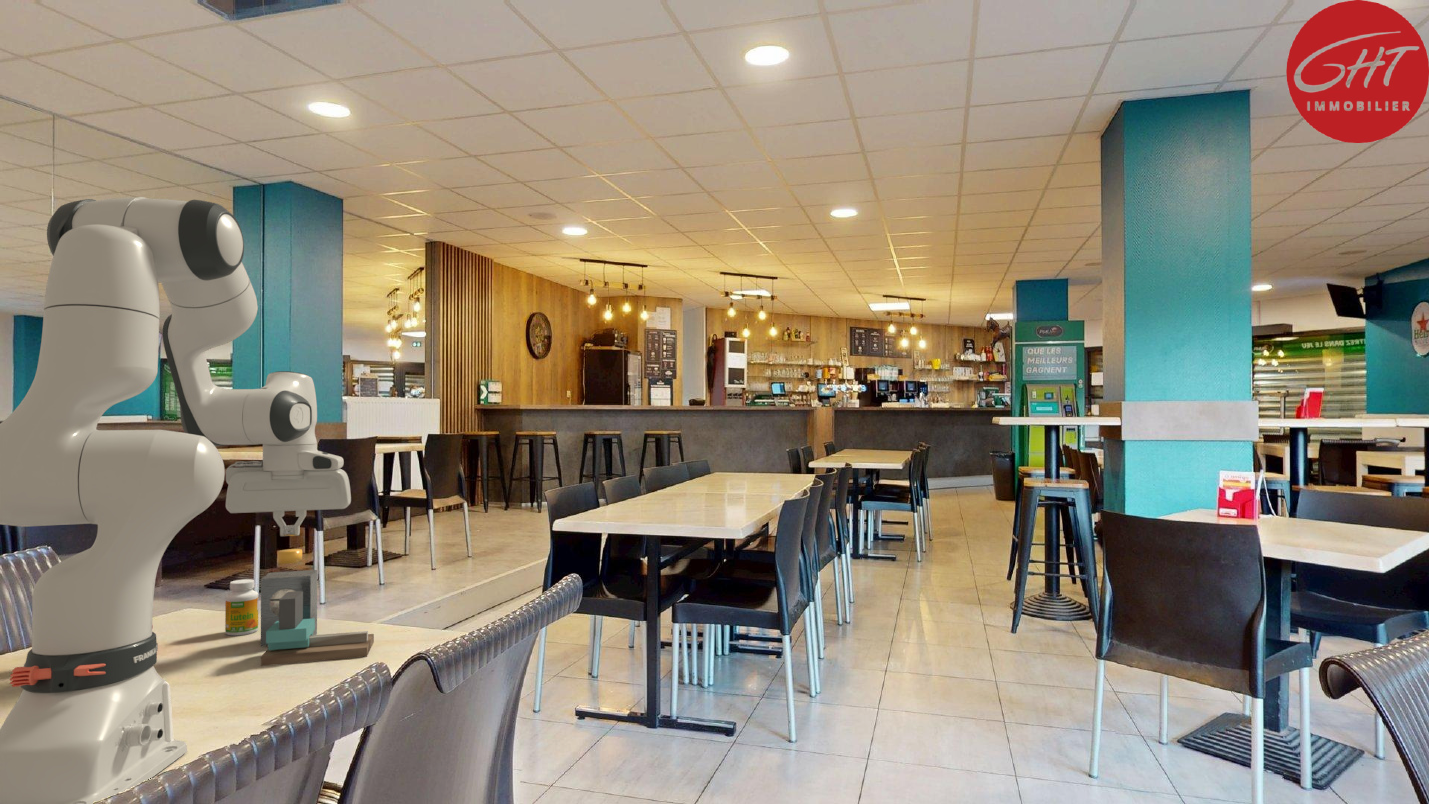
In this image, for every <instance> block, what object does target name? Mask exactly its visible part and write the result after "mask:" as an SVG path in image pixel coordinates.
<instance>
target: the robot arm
mask: <svg viewBox="0 0 1429 804" xmlns="http://www.w3.org/2000/svg"><path fill="white" fill-rule="evenodd" d="M46 227H47V228H46V240H47V245H48V248H49V250H50V253H51V255H52V260H51V264H50V267H49V271H48V276H47V280H46V281H47V282H46V288H45V293H44V304H43V315H42V316H43V320H42V331H41V332H42V333H41V339H40V341H41V343H40V349H39V354H38V355H39V356H38V361H37V368H36V371H35V376H34V379H33V381H32V382H31V385H30V387H29V389H28V391H27V393H26V394H25V396H24V398H23V399H22V400H21V402H20V403H19V405H17V407H16V408H15V409H14V410H13V411H12V413H10V414H9V416H7V417H6V418H5V420H3V421H2V422H0V525H3V526H13V527H25V528H26V527H41V526H42V527H43V526H44V527H47V526H62V525H63V526H65V525H84V524H85V525H87V524H89V525H90V524H91V525H97V533H96V538H95V540H94V542H93V544H92V546H91V547H90V548H87V549H86V550H83V551H81V552H79V553H76V554H74V555H72V556H70V557H68V558H66V559H63V560H62V561H59V562H58V563H56V564H54V565H53V566H51V567H49V569H47V570H46V571H44V572H43V574H41V575H40V577H39V578H38V579H37V581H36V583H35V585H34V587H33V591H32V617H31V619H32V621H31V622H32V623H31V626H32V627H31V628H32V629H31V636H32V637H31V649H29V651H28V652H27V653H26V658H25V662H24V664H23V666H16V667H15V668H14V667H13V668H14V669H12V671H11V674H10V678H9V681H10V685H11V687H12V688H15V687H16V688H18V687H20V688H21V689H22V691H21V693H20V695H19V697H18V699H17V701H16V702H15V704H14V705H13V707H12V708H11V709H10V712H9V713H8V714H7V716H6V718H5V720H4V722H3V723H2V725H1V727H0V804H93V802H94V801H99V800H101V799H102V798H107V797H108V796H111V795H114V794H117V793H119V792H123V791H125V790H126V789H130V788H131V787H133V786H136V785H137V784H138V783H141V782H143V781H144V780H148V779H149V778H151V779H152V778H154V776H156V775H157V774H159V773H160V772H162V771H164V769H165V768H167V767H168V766H170V765H171V764H172V763H174V762H175V761H176V760H178V759H179V758H181V757H182V756H184V755H185V754H186V753H187V752H188V747H187V746H188V744H187V742H186V741H183V740H179V739H174V726H173V712H172V711H173V709H172V697H171V696H172V694H171V687H170V686H171V685H170V683H169V682H167V680H166V679H164V678H163V677H162V676H161V675H160V674H159V673H158V672H157V671H158V670H156V668H155V665H156V664H157V662H158V660H157V655H158V651H159V647H158V646H159V645H158V642H157V634H156V633H155V632H154V631H153V629H152V625H153V614H154V613H153V609H154V598H155V597H154V596H155V595H154V594H155V585H156V579H157V572H158V568H159V566H160V563H161V560H162V558H163V556H164V553H165V552H166V550H167V548H168V547H169V545H170V543H171V542H172V540H173V539H174V538H175V536H176V535H177V534H178V533H180V531H181V530H182V529H183V528H184V527H185V526H186V525H187V524H188V523H189V522H191V521H192V520H193V519H194V518H196V517H197V516H198V515H200V514H202V513H203V512H204V511H206V510H207V509H208V508H209V507H210V506H211V505H213V503H214V502H215V500H216V499H217V498H218V497H219V495H220V493H221V490H222V488H223V485H224V482H225V481H226V484H227V485H228V486H227V491H226V497H225V509H226V510H227V511H228V512H229V513H230V514H242V513H244V514H245V513H247V514H248V513H270V512H272V517H273V520H274V521H275V523H276V524H277V526H278V527H279V536H280V537H294V536H300V533H301V530H300V529H301V527H300V526H301V525H302V523H303V521H304V520H305V518H306V517H307V511H321V510H324V511H325V510H326V511H327V510H344V509H347V508H348V507H349V506H350V505H351V502H352V495H351V485H350V479H349V476H348V473H347V472H346V471H345V470H344V469H341V468H343V467H344V463H345V462H344V458H343V457H342V456H339V455H335V454H332V453H328V452H326V451H321V450H318V440H317V437H316V432H315V431H316V430H315V429H316V425H317V423H318V422H317V421H318V404H317V403H318V402H317V394H316V387H315V383H314V380H313V378H312V376H310V375H308V374H305V373H302V372H295V371H289V370H286V371H285V370H284V371H282V370H281V371H273V372H270V373H268V374H267V376H266V380H265V384H264V386H262V387H260V388H253V389H252V388H247V389H246V388H244V389H243V388H236V389H235V388H234V389H233V388H231V389H230V388H224V387H220V386H219V385H218V386H217V385H216V384H215V383H214V382H213V380H212V376H211V373H210V369H209V368H210V367H209V364H208V360H207V356H206V351H209V350H211V349H214V348H217V347H220V346H223V345H226V344H228V343H231V342H232V341H234V340H236V339H237V338H239V337H240V336H241V337H242V335H243V334H244V333H245V332H247V331H248V330H249V329H250V327H252V325H253V323H254V321H256V317H257V313H258V310H259V308H258V300H257V295H256V292H255V290H254V287H253V284H252V282H251V279H250V277H249V274H248V273H247V270H246V268H245V265H244V264H243V262H242V261H243V258H244V254H245V242H244V234H243V231H242V228H241V226H240V224H239V221H238V219H236V217H235V216H234V215H233V214H232V213H231V212H230V211H229V210H227V208H225V207H224V206H223V205H222V204H219V203H216V202H212V201H205V200H200V199H191V200H189V201H188V200H187V201H186V200H178V199H171V198H169V199H167V198H147V197H144V196H140V197H139V196H137V197H135V196H134V197H133V196H132V197H118V198H117V197H116V198H106V199H105V198H104V199H99V200H96V199H93V198H92V199H91V198H86V199H80V200H75V201H71V202H67V203H64V204H62V205H61V206H59V207H58V208H57V209H56V210H55V212H54V213H53V215H52V216H51V217H50V219H49V221H48V224H47V226H46ZM159 283H161V286H162V288H163V291H164V293H165V294H166V295H165V296H166V297H167V299H168V301H169V304H170V306H171V314H169V315H168V316H167V317H166V319H165V321H164V322H163V324H162V325H163V326H162V342H163V347H164V352H165V355H166V360H167V363H168V367H169V371H170V374H171V377H172V378H171V379H172V381H173V384H174V385H173V386H174V388H175V392H176V396H177V399H178V402H179V403H178V404H179V413H180V414H179V415H180V424H181V426H182V430H183V432H181V431H180V432H179V431H174V430H168V429H167V430H166V429H124V430H123V429H116V430H115V429H112V430H111V429H109V430H107V429H105V430H104V429H103V430H101V429H100V430H99V429H97V427H98V424H99V421H100V419H101V417H102V416H103V415H104V413H105V412H106V411H108V409H110V408H111V407H112V406H114V405H116V404H119V403H121V402H124V401H127V400H129V399H132V398H133V397H136V396H138V395H140V394H141V393H143V392H144V391H146V390H147V389H148V388H150V386H152V384H153V383H154V381H155V380H156V378H157V375H158V373H159V372H158V369H159V368H158V366H159V347H160V343H159V342H160V324H161V323H160V317H161V314H160V312H161V311H160V309H161V308H160V307H161V304H160V288H159ZM230 445H231V446H233V445H234V446H238V445H239V446H242V445H244V446H247V445H250V446H251V445H262V460H251V461H242V460H241V461H235V462H234V463H232V464H230V465H229V466H228V467H227V468H226V470H225V463H224V460H223V458H222V455H221V453H220V451H219V450H218V448H217V447H225V446H230ZM285 512H295V517H296V518H297V517H298V518H297V520H296V521H295V523H294V524H290V525H289V524H288V525H287V524H286V522H285V521H284V519H283V517H284V516H285ZM149 780H150V779H149ZM149 780H148V781H149Z"/></svg>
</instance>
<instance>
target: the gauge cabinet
mask: <svg viewBox="0 0 1429 804" xmlns="http://www.w3.org/2000/svg"><path fill="white" fill-rule="evenodd" d="M297 591H303V619H312V618H315V630H314V631H313V635H318V569H314V570H313V569H312V570H311V569H310V570H295V571H294V570H291V571H275V572H274V571H273V572H268V573H267V574H266V575H264V576H263V577H261V578H260V647H261V648H262V647H268V644H266V631H267V630H268V629H269V628H270V627H271V626H272V625H273V624H274V623H275V622H276V621H279V599H280V598H282V597H283V596H284V595H285V594H286V593H287V592H297Z"/></svg>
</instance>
